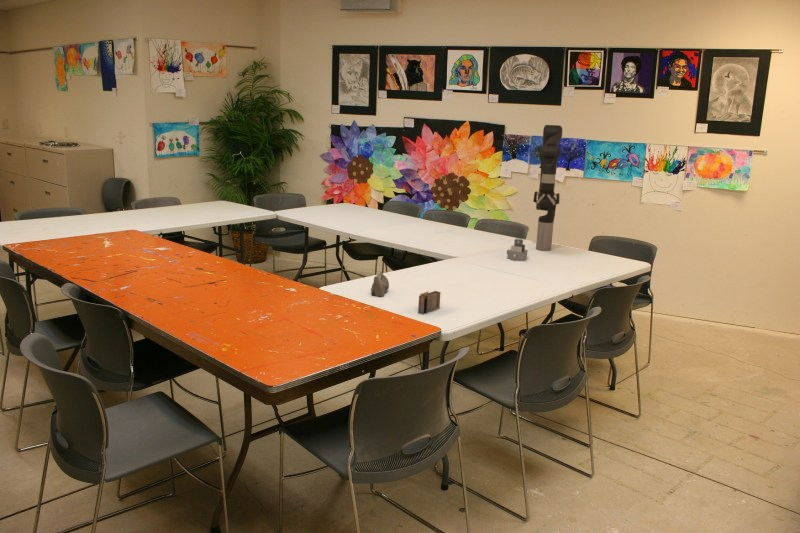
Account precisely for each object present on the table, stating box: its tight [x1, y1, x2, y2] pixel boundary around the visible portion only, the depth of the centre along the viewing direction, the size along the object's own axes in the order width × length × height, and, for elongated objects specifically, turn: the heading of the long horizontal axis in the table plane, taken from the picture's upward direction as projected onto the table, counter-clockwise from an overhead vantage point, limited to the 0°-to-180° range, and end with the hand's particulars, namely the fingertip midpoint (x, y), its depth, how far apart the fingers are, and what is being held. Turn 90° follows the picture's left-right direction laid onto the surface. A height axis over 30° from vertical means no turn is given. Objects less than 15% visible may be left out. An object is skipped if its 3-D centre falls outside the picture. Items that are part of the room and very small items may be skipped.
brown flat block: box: [417, 290, 441, 315], centre depth 276 cm, size 11×3×10 cm, turn 141°
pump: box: [513, 237, 524, 247], centre depth 383 cm, size 5×5×7 cm
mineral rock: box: [370, 271, 390, 297], centre depth 299 cm, size 13×11×10 cm
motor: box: [506, 243, 528, 262], centre depth 384 cm, size 12×11×8 cm
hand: (545, 210), depth 381 cm, fingers open, 8 cm apart
